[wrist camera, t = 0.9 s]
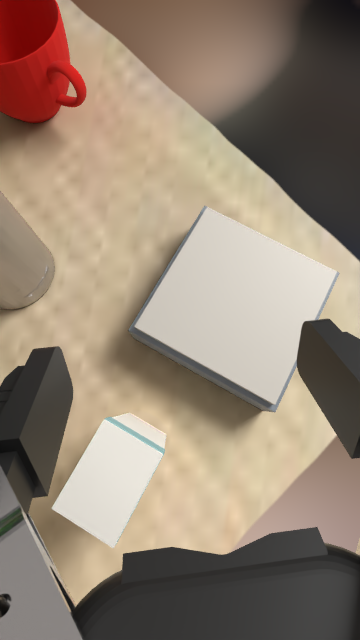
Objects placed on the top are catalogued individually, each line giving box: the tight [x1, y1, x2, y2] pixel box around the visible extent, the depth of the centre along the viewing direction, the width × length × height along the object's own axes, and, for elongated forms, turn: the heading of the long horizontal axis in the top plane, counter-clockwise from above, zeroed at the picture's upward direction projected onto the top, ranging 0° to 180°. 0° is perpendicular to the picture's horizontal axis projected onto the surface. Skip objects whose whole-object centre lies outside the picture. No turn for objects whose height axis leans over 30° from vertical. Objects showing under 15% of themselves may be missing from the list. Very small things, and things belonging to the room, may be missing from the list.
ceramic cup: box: [0, 0, 86, 123], centre depth 38 cm, size 13×17×10 cm
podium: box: [128, 206, 339, 412], centre depth 34 cm, size 16×16×5 cm
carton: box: [51, 413, 167, 548], centre depth 27 cm, size 5×6×13 cm
